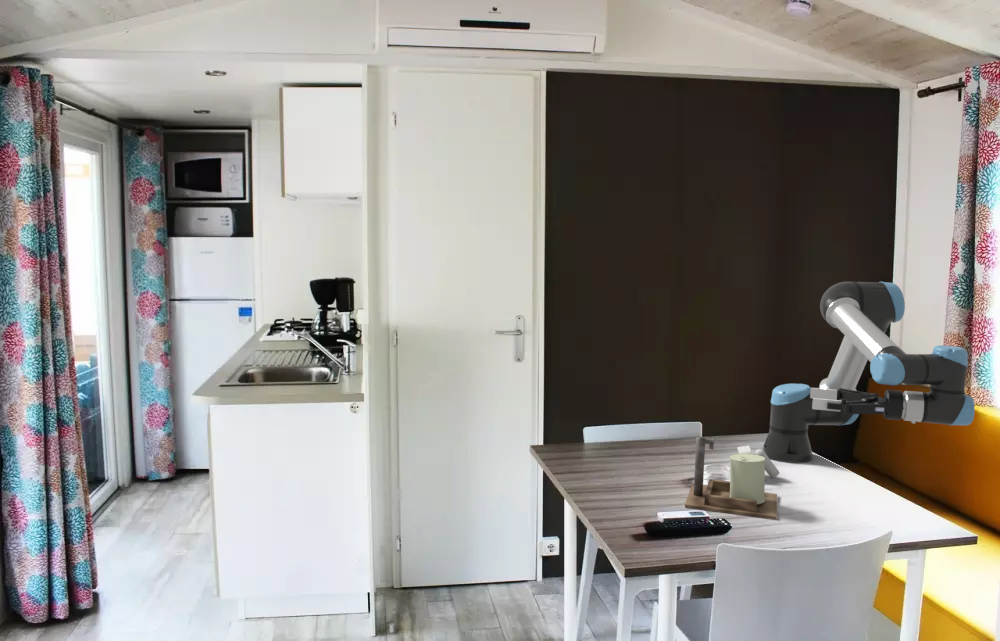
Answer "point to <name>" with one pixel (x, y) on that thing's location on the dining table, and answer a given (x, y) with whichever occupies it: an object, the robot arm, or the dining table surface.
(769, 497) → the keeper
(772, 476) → the wall hook
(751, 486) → the can
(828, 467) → the dining table surface
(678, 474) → the dining table surface
